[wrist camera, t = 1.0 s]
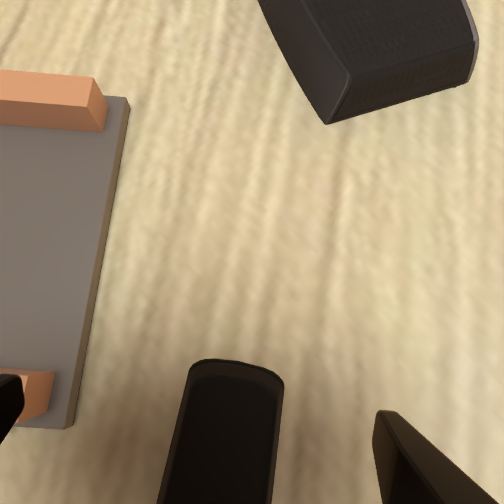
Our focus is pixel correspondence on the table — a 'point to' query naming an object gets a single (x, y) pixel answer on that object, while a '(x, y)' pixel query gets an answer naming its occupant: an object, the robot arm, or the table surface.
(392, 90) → the external hard drive
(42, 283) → the dock
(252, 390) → the controller
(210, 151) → the table surface
